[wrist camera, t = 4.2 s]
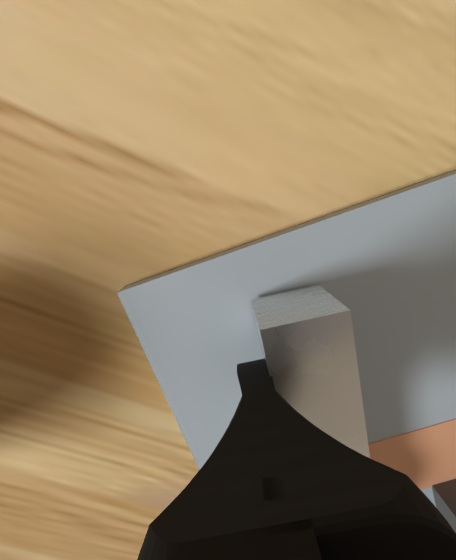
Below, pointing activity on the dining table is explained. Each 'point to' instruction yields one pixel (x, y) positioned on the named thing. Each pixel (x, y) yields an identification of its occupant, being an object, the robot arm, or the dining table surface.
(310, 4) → the dining table surface
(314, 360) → the latch bar
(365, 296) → the latch board
